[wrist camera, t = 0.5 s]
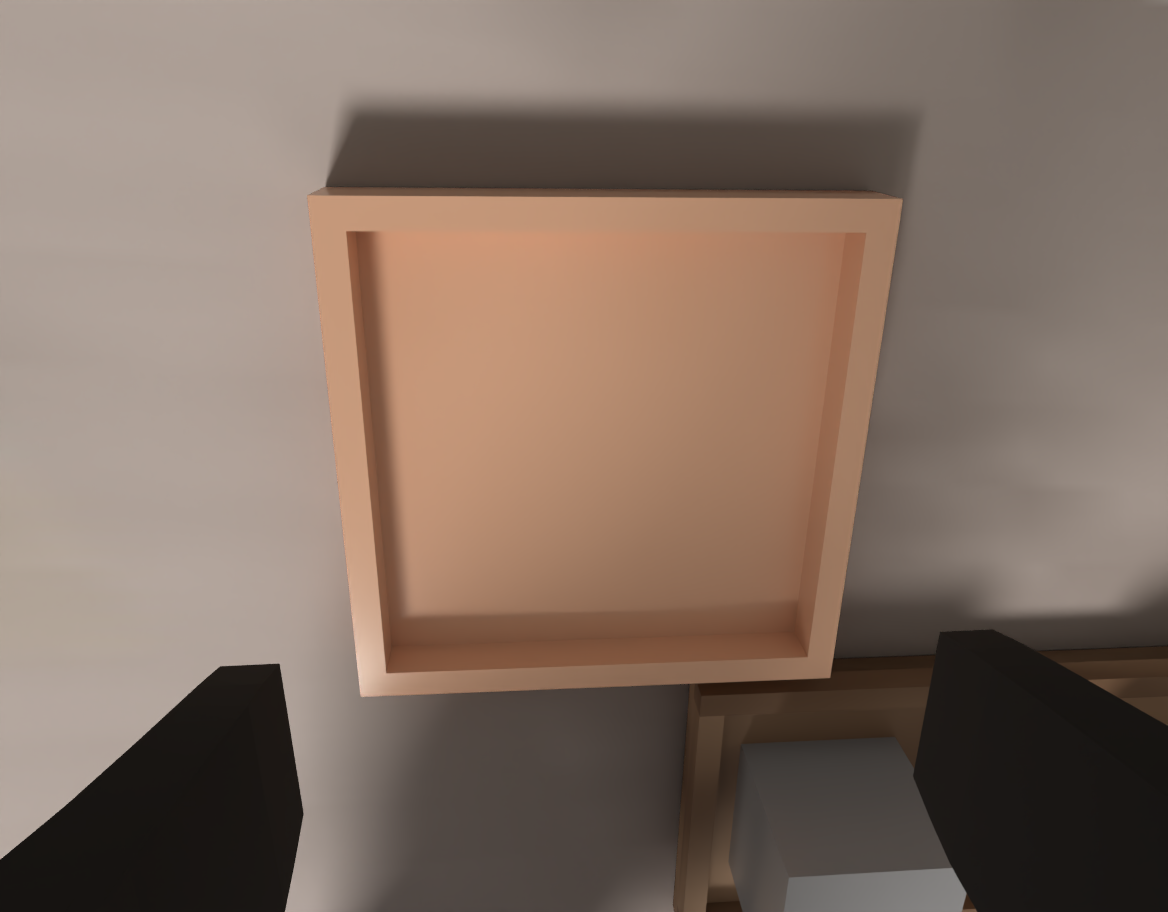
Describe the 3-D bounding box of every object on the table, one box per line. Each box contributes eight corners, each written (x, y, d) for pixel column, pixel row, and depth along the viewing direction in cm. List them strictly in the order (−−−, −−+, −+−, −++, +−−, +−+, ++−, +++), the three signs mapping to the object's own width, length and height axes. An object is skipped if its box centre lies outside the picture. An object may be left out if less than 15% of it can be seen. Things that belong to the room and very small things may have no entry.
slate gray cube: (872, 853, 23) (940, 995, 20) (728, 861, 23) (770, 1007, 19) (895, 736, 22) (973, 866, 18) (740, 743, 21) (789, 877, 18)
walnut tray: (1178, 873, 25) (1208, 909, 24) (673, 904, 24) (680, 943, 23) (1267, 642, 22) (1307, 671, 21) (691, 664, 21) (701, 696, 20)
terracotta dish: (808, 639, 21) (830, 677, 20) (370, 656, 20) (360, 697, 19) (870, 190, 17) (902, 198, 16) (324, 186, 16) (306, 195, 15)
